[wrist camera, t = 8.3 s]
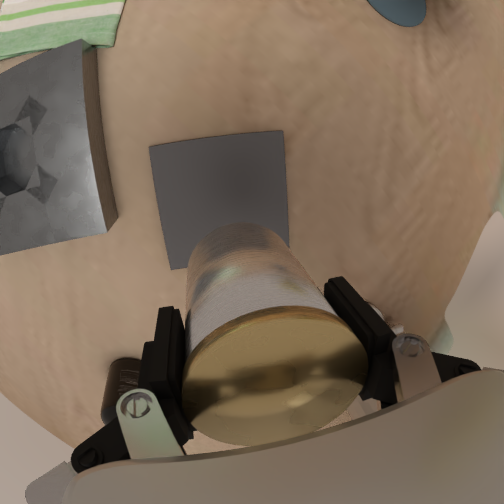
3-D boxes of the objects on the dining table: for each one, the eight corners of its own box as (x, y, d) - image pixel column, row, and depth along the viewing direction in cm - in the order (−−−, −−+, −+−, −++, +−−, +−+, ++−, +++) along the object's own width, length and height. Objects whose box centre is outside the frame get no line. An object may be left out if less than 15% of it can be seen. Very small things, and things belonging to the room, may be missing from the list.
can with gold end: (291, 212, 15) (381, 301, 7) (295, 308, 17) (354, 421, 10) (175, 230, 14) (155, 344, 7) (196, 325, 17) (205, 455, 9)
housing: (96, 49, 21) (81, 38, 17) (118, 217, 28) (107, 232, 24) (-30, 105, 18) (-52, 107, 14) (-5, 245, 26) (-23, 261, 22)
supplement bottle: (100, 370, 36) (85, 438, 25) (129, 349, 35) (116, 423, 24) (135, 394, 39) (130, 461, 28) (165, 376, 38) (165, 447, 27)
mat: (281, 130, 28) (283, 130, 27) (287, 249, 33) (289, 251, 33) (149, 146, 26) (148, 147, 26) (171, 267, 32) (171, 269, 31)
